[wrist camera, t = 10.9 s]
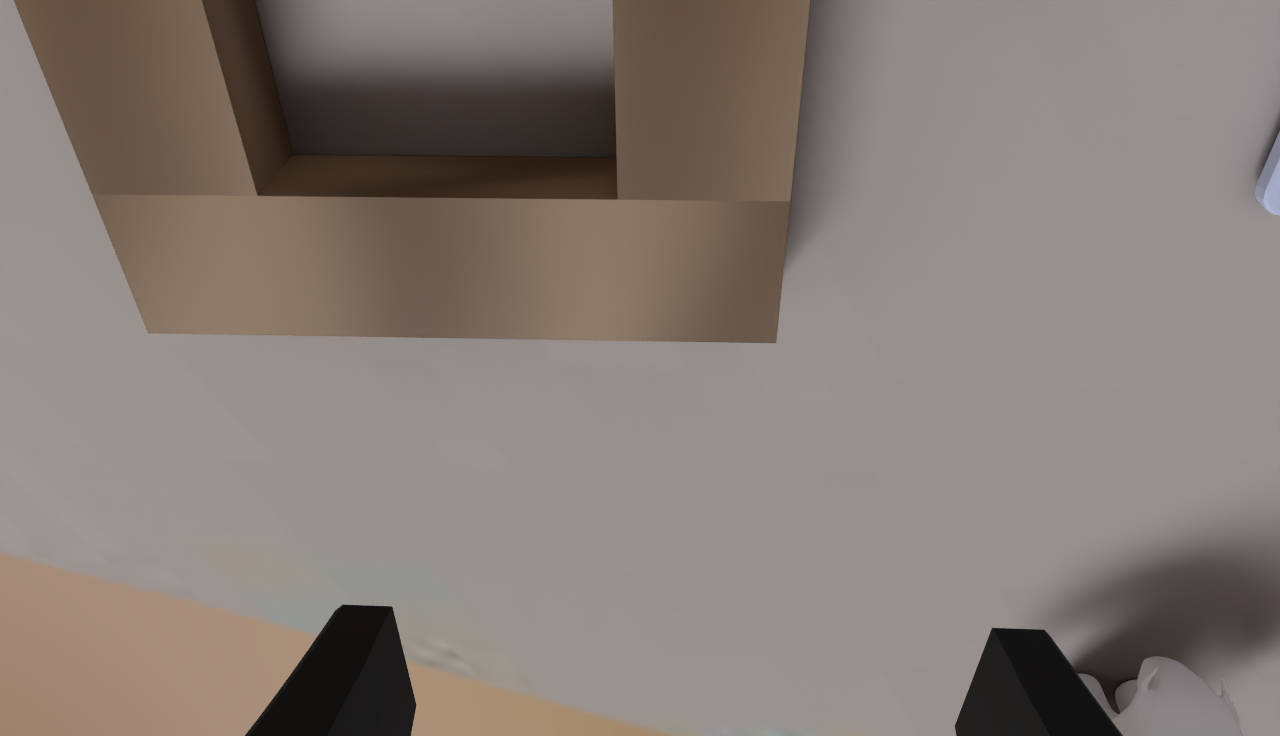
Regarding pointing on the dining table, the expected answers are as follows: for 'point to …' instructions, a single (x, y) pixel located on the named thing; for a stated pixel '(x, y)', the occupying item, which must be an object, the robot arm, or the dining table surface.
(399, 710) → the robot arm
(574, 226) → the collar
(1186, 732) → the elephant figurine
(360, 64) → the dining table surface
